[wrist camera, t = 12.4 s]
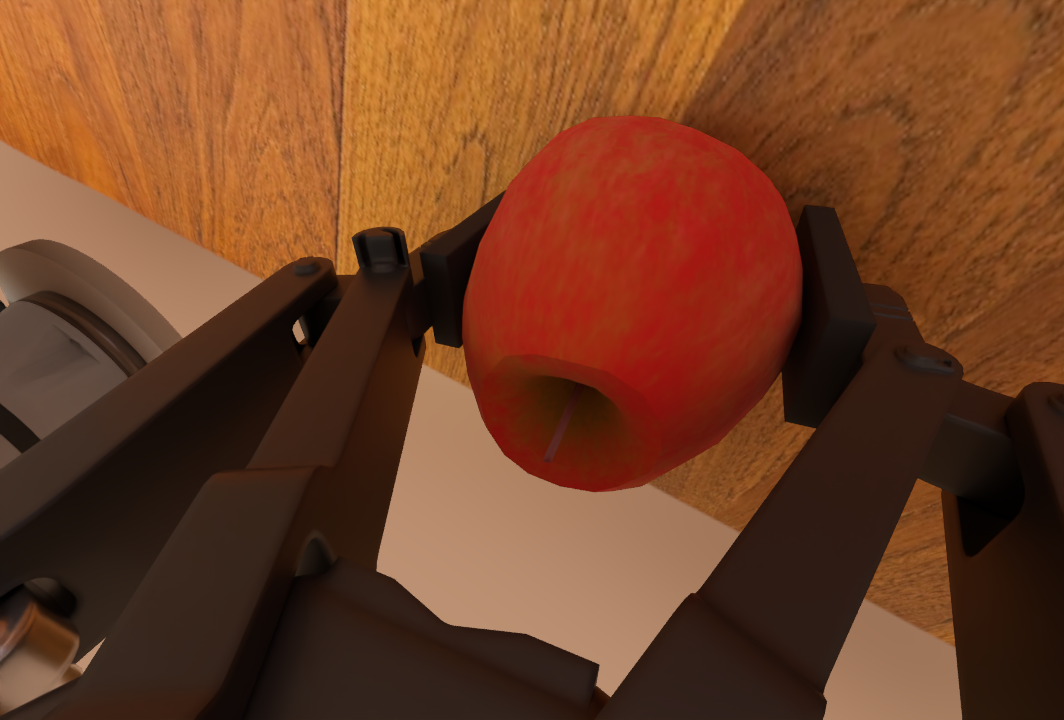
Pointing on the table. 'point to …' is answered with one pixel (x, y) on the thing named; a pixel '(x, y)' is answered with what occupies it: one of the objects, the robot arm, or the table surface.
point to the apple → (629, 302)
